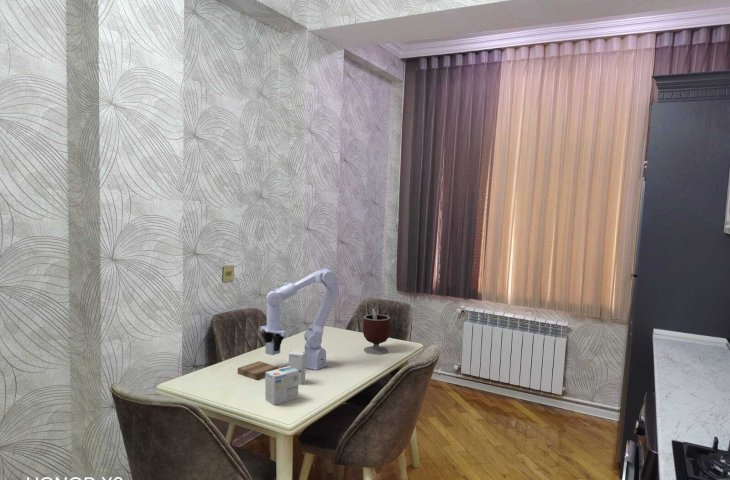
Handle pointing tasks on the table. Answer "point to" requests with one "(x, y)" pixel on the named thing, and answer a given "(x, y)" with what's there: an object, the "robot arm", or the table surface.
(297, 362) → the skincare box
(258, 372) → the walnut base
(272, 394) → the light bulb box
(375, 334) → the mate gourd
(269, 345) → the slate cube
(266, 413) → the table surface
